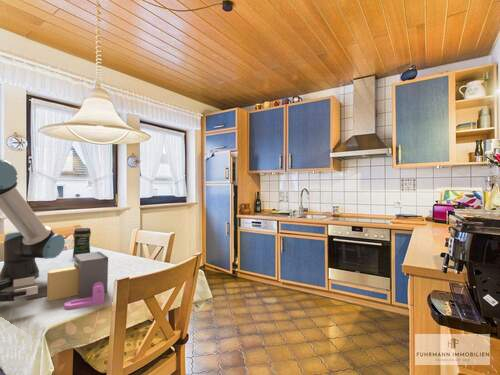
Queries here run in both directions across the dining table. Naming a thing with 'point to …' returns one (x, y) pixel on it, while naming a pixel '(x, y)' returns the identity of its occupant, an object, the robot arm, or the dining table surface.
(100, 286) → the bracket
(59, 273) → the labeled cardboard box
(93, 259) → the dispenser
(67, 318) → the dining table surface
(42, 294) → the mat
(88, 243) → the coffee jar
